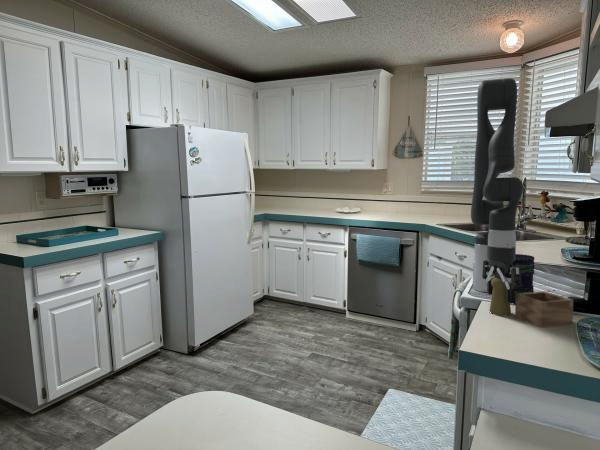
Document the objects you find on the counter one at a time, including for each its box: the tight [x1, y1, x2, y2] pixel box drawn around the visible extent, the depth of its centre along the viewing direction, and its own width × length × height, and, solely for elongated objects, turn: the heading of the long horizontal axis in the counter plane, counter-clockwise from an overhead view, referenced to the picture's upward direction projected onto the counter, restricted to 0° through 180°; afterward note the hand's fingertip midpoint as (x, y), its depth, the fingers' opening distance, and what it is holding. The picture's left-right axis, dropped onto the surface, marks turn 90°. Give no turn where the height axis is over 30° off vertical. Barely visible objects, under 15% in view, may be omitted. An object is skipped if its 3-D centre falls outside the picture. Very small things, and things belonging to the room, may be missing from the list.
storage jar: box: [509, 253, 535, 305], centre depth 138 cm, size 10×10×15 cm
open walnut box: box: [514, 290, 574, 328], centre depth 119 cm, size 10×10×7 cm
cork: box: [488, 277, 512, 316], centre depth 126 cm, size 6×6×11 cm
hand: (500, 297), depth 126 cm, fingers open, 8 cm apart
